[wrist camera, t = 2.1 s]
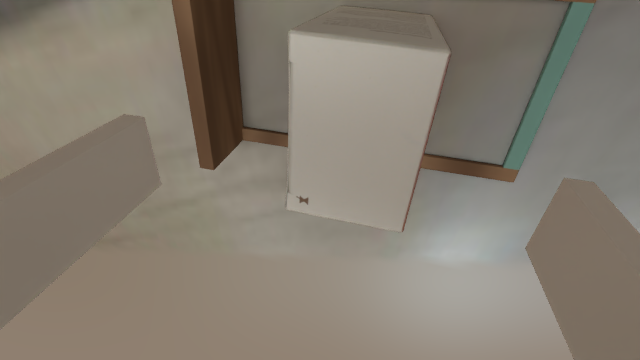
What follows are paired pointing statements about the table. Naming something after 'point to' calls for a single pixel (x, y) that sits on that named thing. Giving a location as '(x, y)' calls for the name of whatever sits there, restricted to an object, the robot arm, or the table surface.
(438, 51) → the small box
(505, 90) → the table surface
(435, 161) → the bay
